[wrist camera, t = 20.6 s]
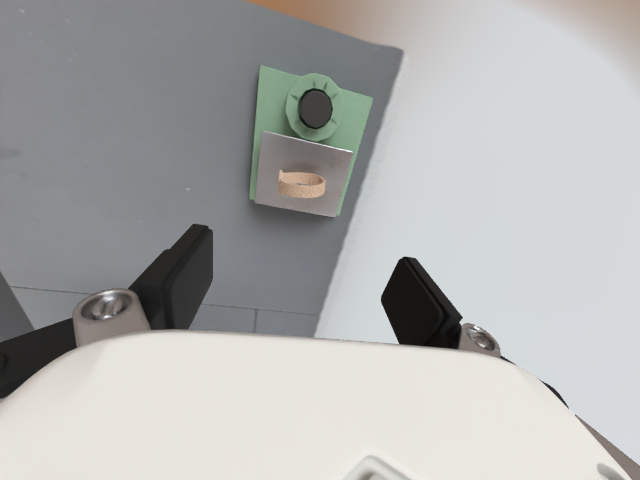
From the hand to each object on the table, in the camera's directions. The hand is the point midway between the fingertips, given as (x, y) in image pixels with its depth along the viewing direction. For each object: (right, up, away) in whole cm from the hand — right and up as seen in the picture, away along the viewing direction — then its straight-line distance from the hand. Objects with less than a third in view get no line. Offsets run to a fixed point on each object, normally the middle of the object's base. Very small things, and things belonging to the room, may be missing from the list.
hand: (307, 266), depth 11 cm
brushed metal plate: (-1, +9, +15) cm, 17 cm away
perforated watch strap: (-1, +8, +15) cm, 17 cm away
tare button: (0, +15, +12) cm, 19 cm away
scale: (-1, +12, +16) cm, 20 cm away
